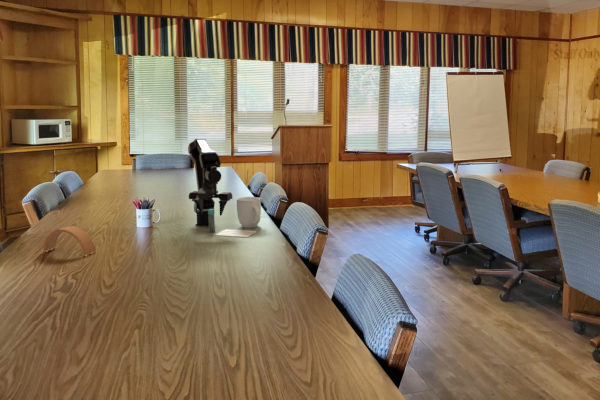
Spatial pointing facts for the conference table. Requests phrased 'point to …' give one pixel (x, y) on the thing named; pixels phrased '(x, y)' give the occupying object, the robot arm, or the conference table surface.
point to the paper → (236, 233)
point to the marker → (211, 220)
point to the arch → (74, 231)
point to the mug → (249, 211)
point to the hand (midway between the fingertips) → (211, 214)
